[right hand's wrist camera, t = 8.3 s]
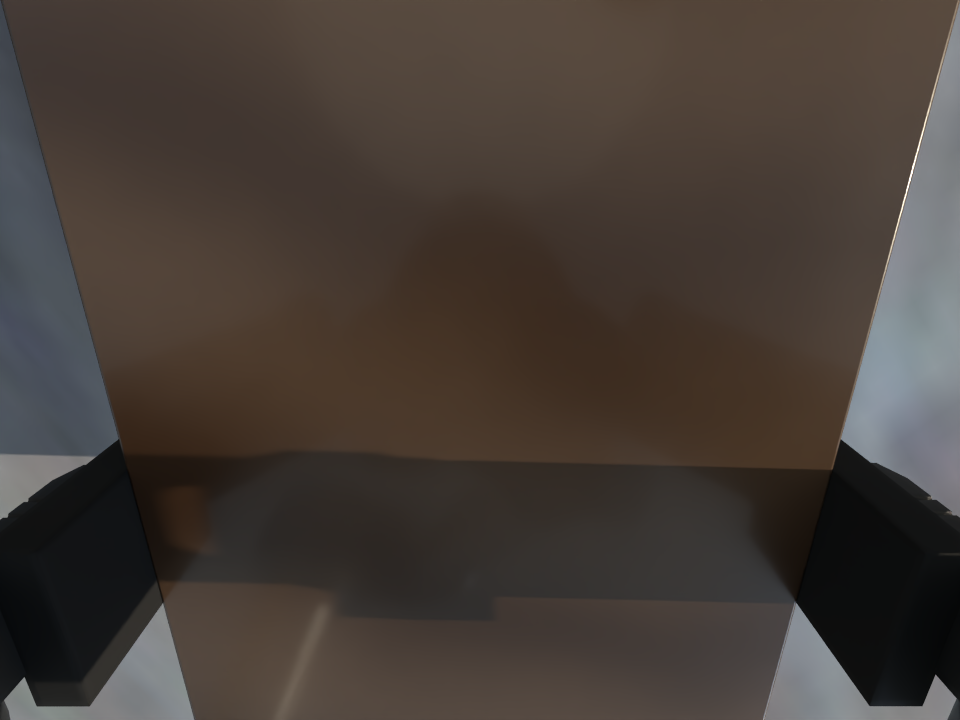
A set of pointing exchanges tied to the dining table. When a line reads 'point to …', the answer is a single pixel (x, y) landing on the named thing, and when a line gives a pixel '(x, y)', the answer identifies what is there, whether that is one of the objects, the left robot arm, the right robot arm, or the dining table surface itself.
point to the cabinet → (480, 329)
